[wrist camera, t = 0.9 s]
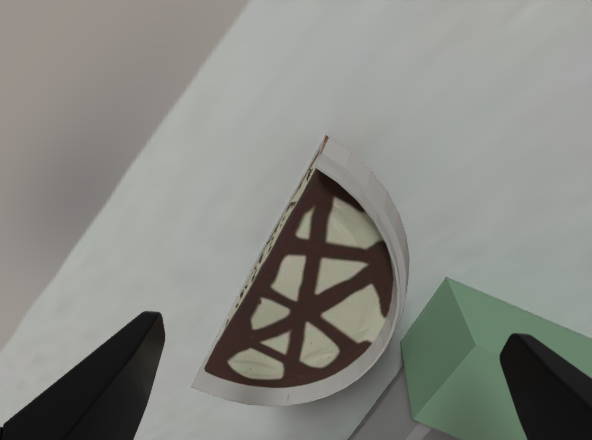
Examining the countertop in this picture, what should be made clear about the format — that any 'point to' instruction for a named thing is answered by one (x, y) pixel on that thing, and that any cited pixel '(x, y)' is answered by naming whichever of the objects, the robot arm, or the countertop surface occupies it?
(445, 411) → the green block on stand
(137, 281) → the countertop surface
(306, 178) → the food container
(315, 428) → the countertop surface
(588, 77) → the countertop surface
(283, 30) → the countertop surface
